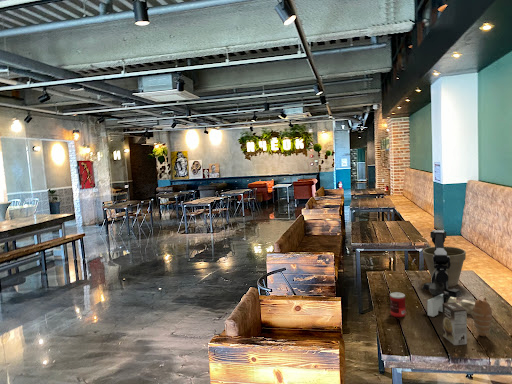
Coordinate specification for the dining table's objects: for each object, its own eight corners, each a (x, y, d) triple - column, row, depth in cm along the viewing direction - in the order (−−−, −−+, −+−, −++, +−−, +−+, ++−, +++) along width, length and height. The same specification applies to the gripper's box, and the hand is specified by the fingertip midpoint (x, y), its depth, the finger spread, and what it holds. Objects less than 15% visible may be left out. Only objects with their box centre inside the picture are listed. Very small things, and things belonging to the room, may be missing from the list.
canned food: (405, 312, 210) (404, 292, 209) (406, 318, 203) (405, 297, 202) (390, 311, 213) (389, 291, 212) (390, 317, 205) (389, 296, 204)
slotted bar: (432, 316, 201) (432, 301, 200) (427, 315, 203) (427, 300, 202) (447, 309, 208) (447, 295, 208) (442, 308, 211) (442, 293, 210)
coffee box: (442, 336, 181) (441, 302, 179) (455, 335, 181) (454, 301, 180) (453, 345, 171) (453, 310, 170) (467, 344, 172) (467, 309, 171)
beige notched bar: (438, 306, 215) (438, 295, 215) (444, 303, 218) (443, 293, 218) (475, 317, 199) (475, 305, 198) (481, 314, 202) (481, 302, 201)
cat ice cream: (486, 341, 173) (485, 302, 171) (468, 335, 180) (468, 298, 178) (496, 336, 178) (496, 298, 176) (479, 330, 184) (478, 293, 183)
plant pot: (419, 286, 248) (418, 253, 246) (427, 275, 268) (426, 244, 267) (463, 292, 234) (463, 256, 232) (468, 280, 254) (468, 247, 252)
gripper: (416, 276, 210) (417, 304, 211) (450, 284, 194) (450, 314, 196) (428, 272, 216) (428, 299, 217) (461, 279, 201) (462, 308, 202)
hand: (441, 305), depth 208 cm, fingers closed on slotted bar, 3 cm apart
